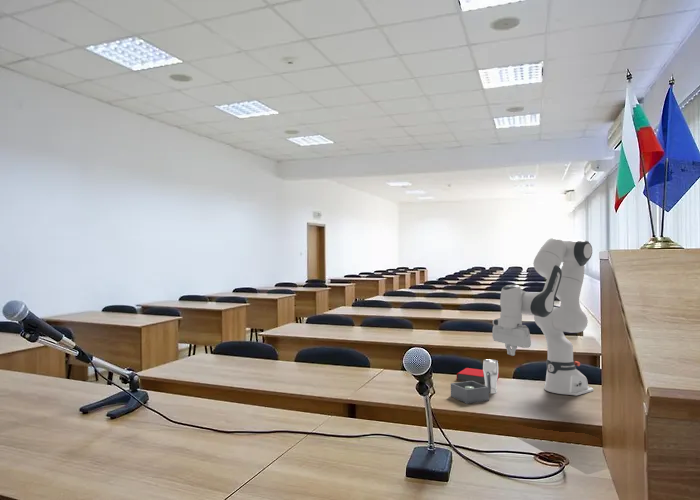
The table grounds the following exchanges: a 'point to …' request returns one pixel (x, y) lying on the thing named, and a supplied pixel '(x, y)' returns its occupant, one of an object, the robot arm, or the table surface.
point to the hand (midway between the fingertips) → (511, 354)
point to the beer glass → (490, 374)
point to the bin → (469, 392)
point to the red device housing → (472, 375)
